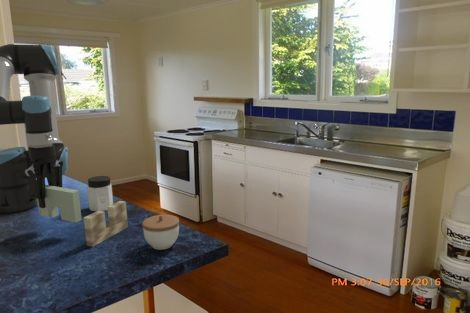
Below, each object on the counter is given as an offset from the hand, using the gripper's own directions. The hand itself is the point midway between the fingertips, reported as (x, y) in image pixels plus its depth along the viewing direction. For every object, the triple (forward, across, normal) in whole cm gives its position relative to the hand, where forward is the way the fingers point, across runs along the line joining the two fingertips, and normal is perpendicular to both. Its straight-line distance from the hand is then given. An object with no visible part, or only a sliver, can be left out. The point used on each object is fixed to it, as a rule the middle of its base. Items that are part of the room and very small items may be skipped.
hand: (50, 214), depth 121 cm
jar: (+6, +22, -1) cm, 23 cm away
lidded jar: (+5, +4, -41) cm, 42 cm away
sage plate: (0, 0, -4) cm, 4 cm away
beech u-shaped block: (+5, +3, -21) cm, 22 cm away
